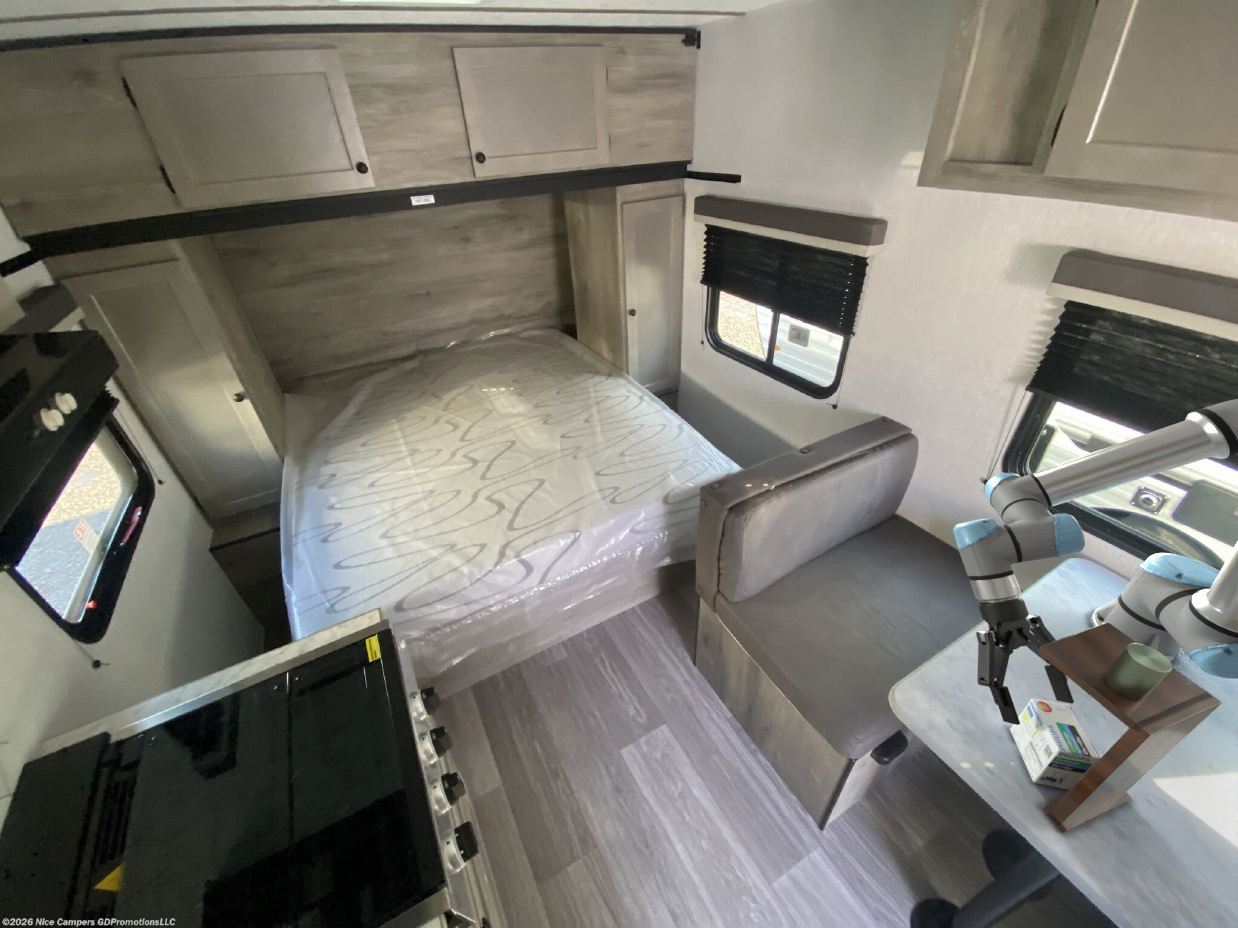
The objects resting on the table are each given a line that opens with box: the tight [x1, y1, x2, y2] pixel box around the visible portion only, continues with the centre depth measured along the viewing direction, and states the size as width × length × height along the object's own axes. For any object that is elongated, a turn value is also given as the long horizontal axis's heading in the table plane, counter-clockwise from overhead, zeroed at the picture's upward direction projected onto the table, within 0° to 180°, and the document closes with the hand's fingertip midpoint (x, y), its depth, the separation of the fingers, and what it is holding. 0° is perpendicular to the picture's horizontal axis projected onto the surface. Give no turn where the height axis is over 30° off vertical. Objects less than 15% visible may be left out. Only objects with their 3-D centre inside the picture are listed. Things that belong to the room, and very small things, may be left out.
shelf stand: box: [1038, 622, 1223, 834], centre depth 86 cm, size 16×17×36 cm
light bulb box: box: [1009, 697, 1101, 791], centre depth 95 cm, size 11×7×11 cm, turn 168°
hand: (1039, 711), depth 96 cm, fingers open, 13 cm apart
